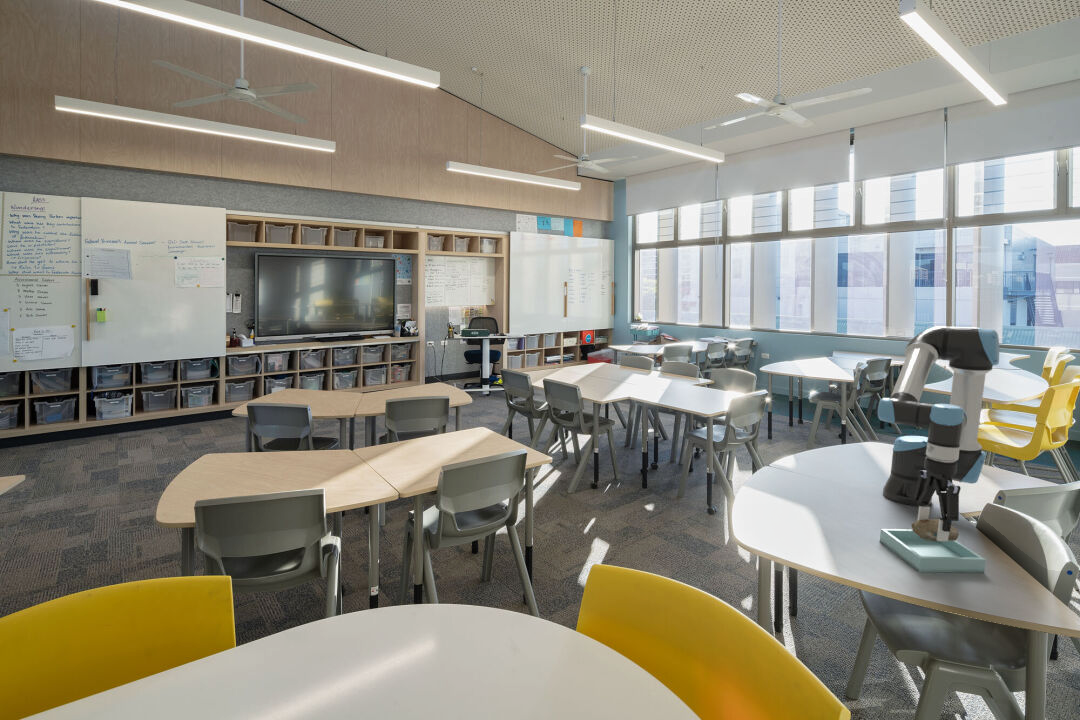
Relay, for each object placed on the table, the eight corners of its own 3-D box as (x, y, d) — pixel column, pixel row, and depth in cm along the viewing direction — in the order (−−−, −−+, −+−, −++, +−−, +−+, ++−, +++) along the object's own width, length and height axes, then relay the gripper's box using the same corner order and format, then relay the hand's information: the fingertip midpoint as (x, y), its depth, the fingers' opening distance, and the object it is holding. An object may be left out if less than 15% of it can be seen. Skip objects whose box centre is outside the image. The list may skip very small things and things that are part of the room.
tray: (938, 542, 170) (939, 529, 170) (984, 572, 153) (985, 559, 152) (879, 541, 170) (881, 528, 170) (918, 571, 153) (920, 558, 152)
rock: (905, 531, 164) (907, 517, 163) (940, 529, 165) (942, 516, 164) (926, 543, 156) (927, 528, 155) (962, 541, 157) (964, 527, 156)
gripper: (904, 447, 167) (896, 518, 171) (954, 470, 147) (944, 550, 150) (929, 447, 167) (920, 518, 171) (983, 471, 147) (971, 551, 150)
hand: (931, 533), depth 160 cm, fingers closed on rock, 8 cm apart
